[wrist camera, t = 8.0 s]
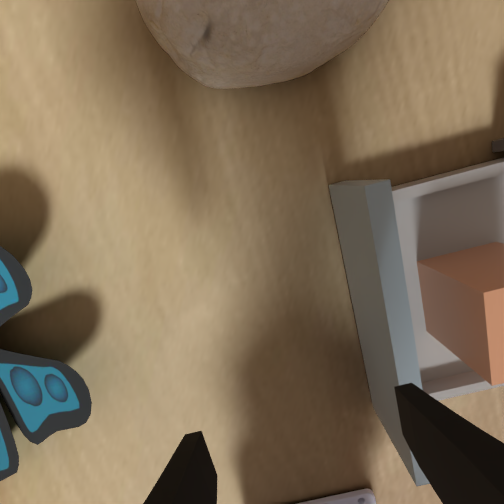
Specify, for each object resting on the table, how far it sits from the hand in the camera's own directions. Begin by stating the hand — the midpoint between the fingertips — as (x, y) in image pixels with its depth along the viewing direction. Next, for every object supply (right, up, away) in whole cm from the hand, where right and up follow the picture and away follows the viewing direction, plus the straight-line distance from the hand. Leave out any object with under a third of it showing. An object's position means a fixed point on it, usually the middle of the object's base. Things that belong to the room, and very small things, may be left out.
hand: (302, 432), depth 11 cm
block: (+10, +4, +7) cm, 13 cm away
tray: (+11, +5, +8) cm, 14 cm away
